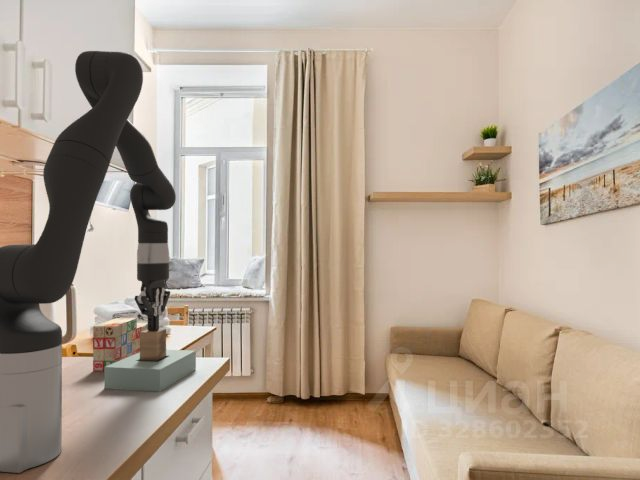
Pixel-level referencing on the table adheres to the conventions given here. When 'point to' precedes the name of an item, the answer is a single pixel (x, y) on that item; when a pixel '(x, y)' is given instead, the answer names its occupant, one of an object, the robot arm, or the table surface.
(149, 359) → the walnut peg
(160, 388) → the socket board
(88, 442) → the table surface
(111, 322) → the stack of blocks
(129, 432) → the table surface
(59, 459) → the table surface
